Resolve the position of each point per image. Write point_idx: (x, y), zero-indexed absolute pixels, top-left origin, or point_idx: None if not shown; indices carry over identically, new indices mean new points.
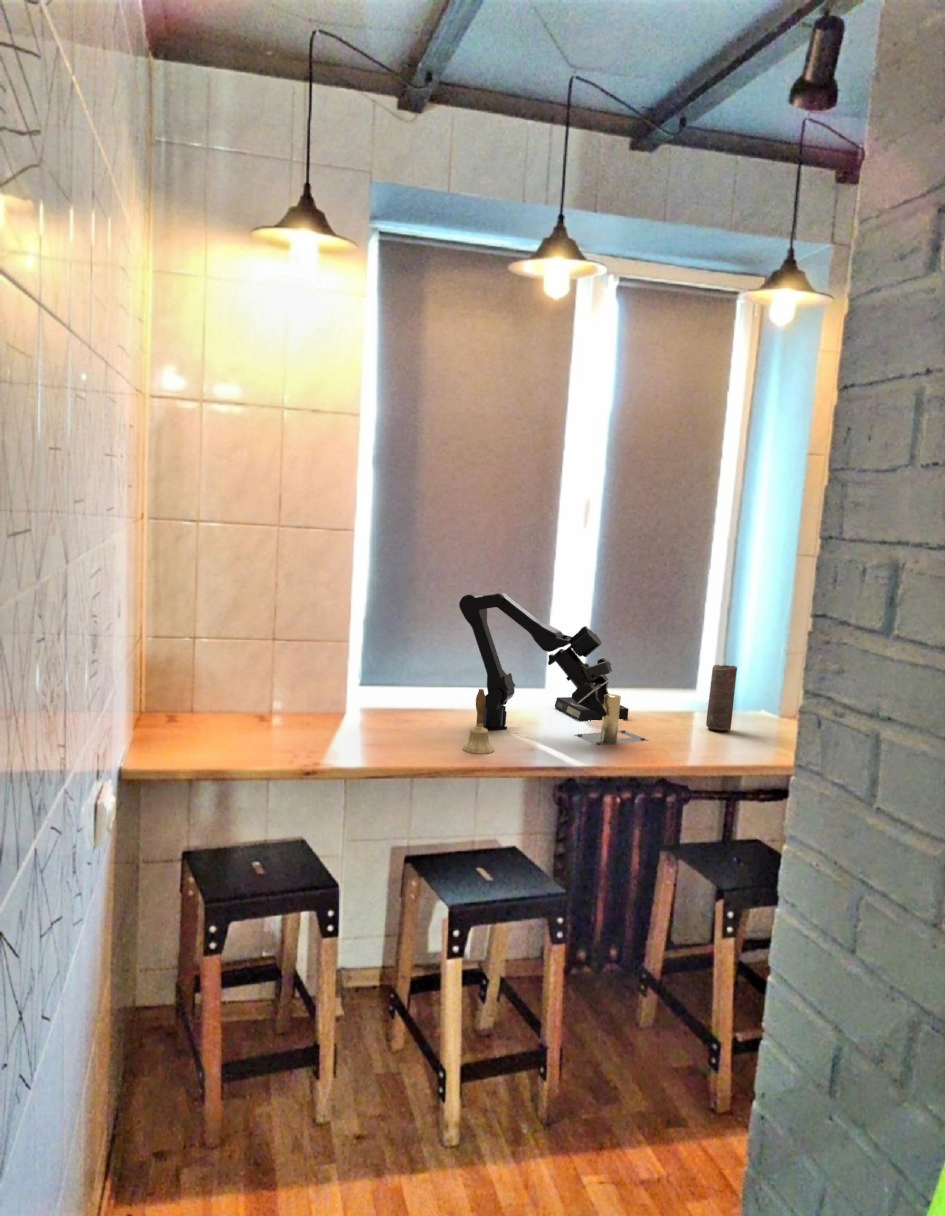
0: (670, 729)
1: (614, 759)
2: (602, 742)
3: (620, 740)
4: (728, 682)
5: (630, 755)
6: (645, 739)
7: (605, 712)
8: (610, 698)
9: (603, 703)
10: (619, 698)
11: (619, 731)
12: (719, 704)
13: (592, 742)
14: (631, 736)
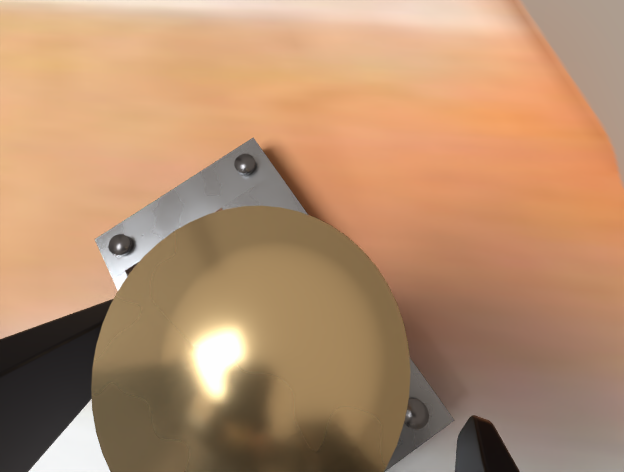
0: (2, 63)
1: (583, 330)
2: None
3: None
4: None
5: (461, 241)
6: (242, 152)
7: (507, 450)
8: (403, 417)
9: (62, 421)
10: (336, 235)
11: (118, 262)
12: None
13: (399, 451)
14: (202, 211)
